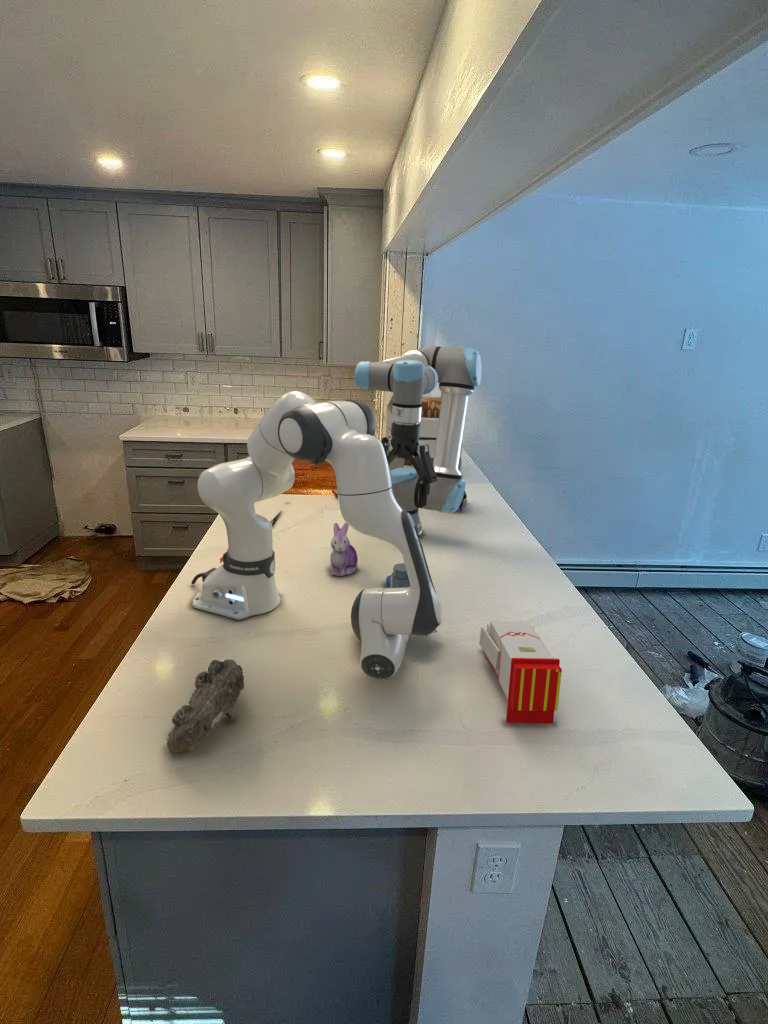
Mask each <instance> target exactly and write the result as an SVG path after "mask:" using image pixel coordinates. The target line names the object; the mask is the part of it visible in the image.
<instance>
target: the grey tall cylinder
mask: <svg viewBox="0 0 768 1024" xmlns="http://www.w3.org/2000/svg"><path fill="white" fill-rule="evenodd" d="M390 575H391V588H407V587H411V584H410V581H409V577H408V574H407V570H406V567H405V564H404V562H399V563H395V564H394V565H393V568H392V572H391V574H390Z"/></svg>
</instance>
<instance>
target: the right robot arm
mask: <svg viewBox="0 0 768 1024" xmlns="http://www.w3.org/2000/svg"><path fill="white" fill-rule="evenodd" d="M482 370H483V369H482V359H481V355H480V353H479V351H478V350H477V349H474V348H467V347H454V346H453V347H452V346H440V345H439V346H437V345H431V346H423V347H419V348H416V349H411V350H408V351H406V352H405V353H404V354H403V355H401V356H397V357H392V358H389V359H385V360H380V361H370V360H368V361H359V362H358V363H357V364H356V366H355V370H354V383H355V386H356V387H357V388H358V389H360V390H366V391H378V392H388V393H389V392H390V393H392V396H393V403H392V405H393V406H392V420H393V421H394V422H393V423H392V424H391V436H392V439H391V437H390V436H387V437H386V436H383V437H382V438H381V440H380V441H381V443H382V445H383V448H384V451H385V454H386V453H387V451H388V449H389V446H390V445H391V446H392V448H393V449H392V450H391V451H390V452H389V454H388V456H387V457H386V458H387V461H388V466H389V464H390V463H391V462H392V461H393V460H394V459H395V458H396V457H399V458H400V457H402V458H404V459H408V460H409V461H410V462H411V463H412V464H413V466H404V467H403V468H397V469H393V470H391V471H390V476H391V483H392V490H393V494H394V497H395V499H396V501H397V503H398V505H399V506H400V507H401V509H402V510H404V511H406V512H408V513H410V515H411V517H412V519H413V521H414V523H415V526H416V529H417V532H418V535H419V538H420V537H421V536H422V535H423V524H422V521H421V518H420V515H419V509H422V510H428V511H433V512H439V513H447V514H453V513H456V512H457V511H458V510H459V509H460V508H459V506H460V504H461V501H462V499H463V495H464V492H466V481H465V480H464V479H462V477H463V476H462V475H463V474H462V473H460V471H459V470H458V464H459V457H460V450H461V444H462V445H463V443H462V441H463V438H464V432H463V430H464V429H465V421H466V415H467V408H468V402H469V401H468V400H469V397H470V396H472V394H473V393H474V392H475V387H479V386H480V385H481V380H482ZM437 385H438V389H439V391H440V393H441V392H442V400H441V407H440V415H439V422H438V429H437V437H436V444H435V451H434V458H433V464H432V460H431V457H430V454H429V445H428V444H426V445H419V443H418V440H419V437H420V424H419V422H420V421H421V410H422V397H423V395H427V394H429V393H431V392H432V391H433V390H435V388H436V387H437ZM464 431H465V430H464ZM462 437H463V438H462ZM418 450H419V451H418ZM417 451H418V452H419V453H420V456H419V454H418V452H417ZM413 456H414V457H413ZM420 457H421V460H422V462H421V460H420ZM331 492H332V494H333V495H334V496H336V498H338V493H337V492H336V491H335V490H331ZM458 508H459V509H458Z"/></svg>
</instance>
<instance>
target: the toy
mask: <svg viewBox="0 0 768 1024" xmlns="http://www.w3.org/2000/svg"><path fill="white" fill-rule="evenodd" d="M478 642H479V643H478V644H479V646H480V647H481V650H482V651H483V654H484V655H485V657H486V659H487V661H488V663H489V664H490V666H491V669H492V670H493V672H494V674H495V676H496V678H497V679H498V682H499V684H500V687H501V688H502V691H503V693H504V695H505V697H506V699H507V706H506V717H505V722H506V724H547V725H549V724H551V725H553V724H554V718H555V712H558V711H559V710H558V709H559V698H560V689H561V682H562V681H561V680H562V672H563V671H562V667H561V666H560V663H561V659H560V658H554V656H553V654H552V653H551V651H550V650H549V649H548V647H547V646H546V644H545V643H544V642H543V640H542V638H540V636H539V635H538V633H537V631H536V630H535V627H534V626H532V625H531V623H530V622H529V620H528V621H527V620H526V621H525V620H524V621H523V620H490V621H489V622H487V623H486V628H485V626H480V634H479V641H478Z"/></svg>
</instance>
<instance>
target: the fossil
mask: <svg viewBox="0 0 768 1024" xmlns="http://www.w3.org/2000/svg"><path fill="white" fill-rule="evenodd" d="M243 670H244V669H243V667H242V665H240V664H237V662H236V661H235V660H234V659H232V658H231V659H227V658H226V659H224V660H223V661H222V660H217V659H212V660H211V661H210V663H209V665H208V666H207V671H201V672H199V673H198V674H197V675H196V676H195V680H194V684H195V685H194V687H195V689H194V690H193V693H192V694H191V697H190V698H189V700H188V704H184V705H182V706H181V707H180V709H177V710H176V711H175V713H174V715H173V716H172V718H171V723H172V724H173V727H172V730H171V731H170V732H168V734H167V738H166V741H167V742H166V745H167V749H168V750H169V751H173V752H174V753H176V754H178V753H182V752H188V751H189V752H192V751H193V750H195V748H196V747H197V746H199V744H200V743H201V742H203V741H204V740H205V739H206V738H207V737H208V736H209V735H210V734H211V733H212V732H214V730H215V729H217V727H218V726H219V724H220V722H221V721H222V720H223V719H224V718H225V716H226V717H227V719H229V720H233V717H232V715H230V714H229V710H230V709H231V708H234V706H235V704H236V703H237V702H238V699H239V697H240V695H241V693H242V691H243V690H245V689H244V688H245V675H244V671H243Z"/></svg>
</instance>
